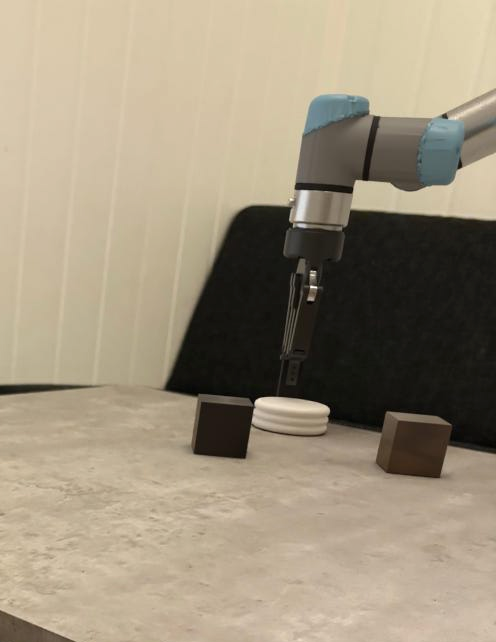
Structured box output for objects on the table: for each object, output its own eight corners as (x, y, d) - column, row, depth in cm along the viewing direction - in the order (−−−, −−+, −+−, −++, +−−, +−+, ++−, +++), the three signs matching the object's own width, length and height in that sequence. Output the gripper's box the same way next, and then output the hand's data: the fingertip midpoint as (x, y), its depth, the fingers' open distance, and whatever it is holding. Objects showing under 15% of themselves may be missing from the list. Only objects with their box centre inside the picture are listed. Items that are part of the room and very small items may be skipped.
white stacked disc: (236, 424, 138) (240, 398, 137) (279, 419, 144) (283, 394, 143) (298, 438, 131) (302, 411, 130) (340, 433, 138) (345, 407, 136)
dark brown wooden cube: (426, 466, 121) (438, 416, 118) (440, 478, 115) (452, 425, 113) (375, 461, 121) (386, 411, 119) (386, 472, 115) (398, 420, 113)
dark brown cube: (240, 448, 122) (249, 398, 120) (245, 458, 117) (254, 406, 114) (191, 443, 123) (198, 393, 120) (193, 453, 117) (201, 401, 115)
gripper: (282, 225, 140) (253, 398, 149) (294, 225, 128) (262, 412, 137) (337, 230, 139) (305, 403, 148) (354, 230, 127) (318, 418, 136)
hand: (284, 407), depth 142 cm, fingers closed
